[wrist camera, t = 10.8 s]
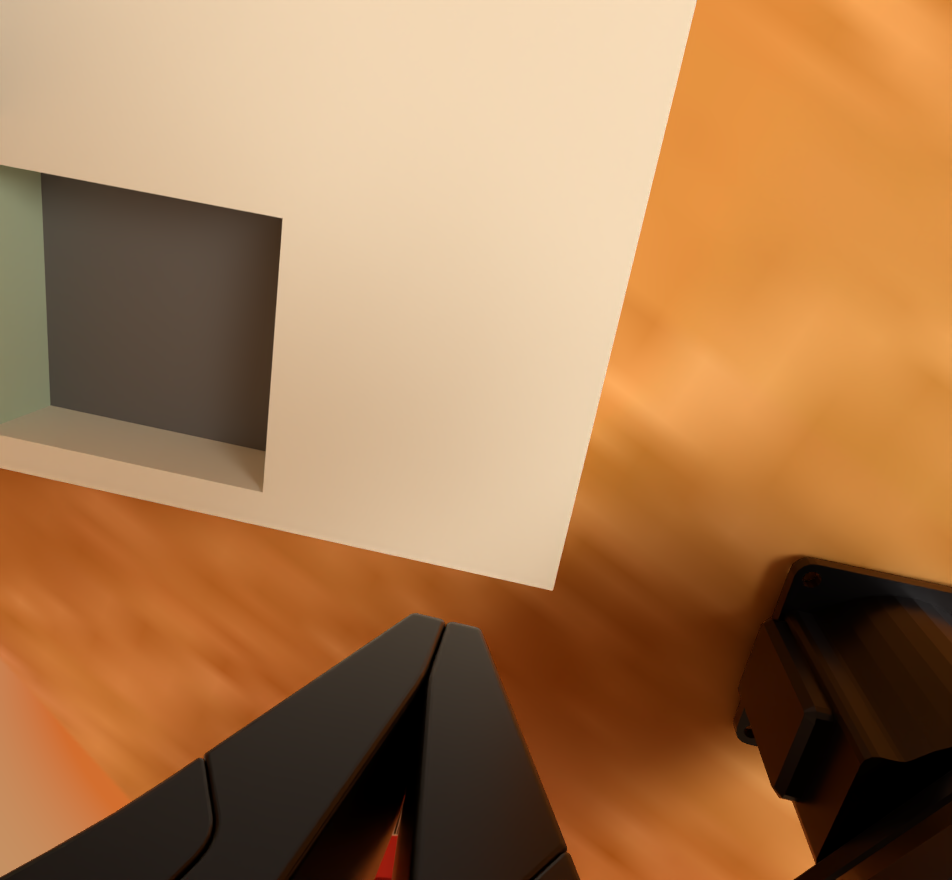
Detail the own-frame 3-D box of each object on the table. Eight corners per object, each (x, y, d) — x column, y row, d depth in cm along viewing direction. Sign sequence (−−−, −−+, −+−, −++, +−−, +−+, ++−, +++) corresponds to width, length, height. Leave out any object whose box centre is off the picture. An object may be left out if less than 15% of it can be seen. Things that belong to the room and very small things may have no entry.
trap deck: (827, -603, 13) (901, -838, 10) (555, 538, 21) (552, 590, 18) (-252, -710, 14) (-458, -941, 11) (-113, 394, 22) (-212, 420, 19)
